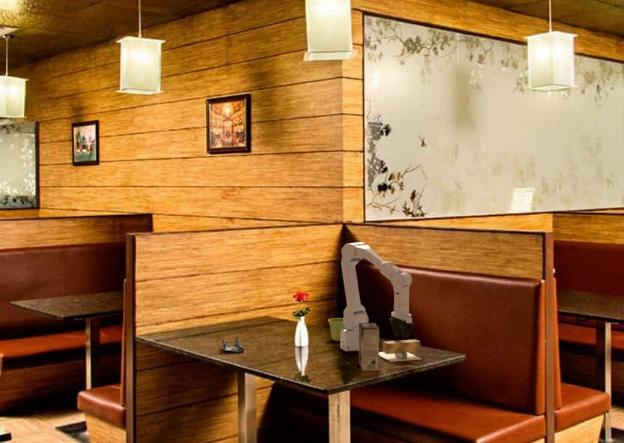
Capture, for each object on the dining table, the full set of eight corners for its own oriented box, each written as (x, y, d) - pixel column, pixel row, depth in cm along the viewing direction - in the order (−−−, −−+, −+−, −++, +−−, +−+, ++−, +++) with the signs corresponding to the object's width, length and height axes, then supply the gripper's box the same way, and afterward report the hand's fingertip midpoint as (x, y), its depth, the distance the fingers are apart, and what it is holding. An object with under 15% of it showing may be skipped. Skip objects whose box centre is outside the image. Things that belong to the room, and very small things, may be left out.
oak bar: (387, 354, 309) (387, 343, 309) (382, 351, 313) (382, 341, 313) (420, 351, 314) (420, 341, 313) (415, 349, 317) (415, 339, 317)
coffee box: (358, 364, 305) (358, 322, 304) (375, 364, 305) (375, 322, 304) (361, 370, 296) (362, 327, 295) (379, 370, 296) (379, 327, 295)
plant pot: (324, 340, 347) (324, 320, 347) (332, 336, 356) (332, 317, 355) (345, 342, 344) (345, 322, 343) (352, 338, 352) (352, 318, 352)
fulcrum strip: (402, 359, 310) (402, 353, 310) (394, 355, 316) (394, 350, 316) (407, 359, 310) (407, 353, 310) (399, 355, 317) (399, 349, 317)
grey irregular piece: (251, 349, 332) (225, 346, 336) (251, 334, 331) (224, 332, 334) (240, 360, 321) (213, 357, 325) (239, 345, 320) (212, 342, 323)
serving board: (390, 363, 307) (390, 361, 307) (374, 354, 322) (374, 352, 322) (421, 361, 311) (421, 359, 311) (403, 352, 326) (404, 350, 326)
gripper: (419, 306, 306) (418, 341, 307) (402, 300, 320) (402, 333, 321) (402, 306, 304) (401, 342, 305) (386, 300, 318) (386, 334, 319)
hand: (401, 338), depth 313 cm, fingers open, 7 cm apart
